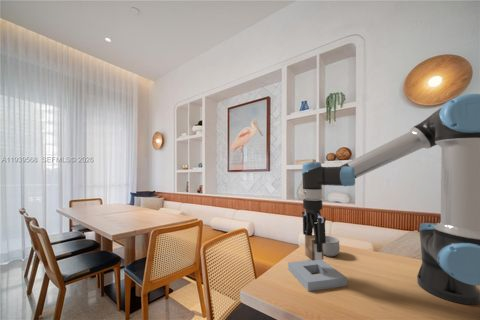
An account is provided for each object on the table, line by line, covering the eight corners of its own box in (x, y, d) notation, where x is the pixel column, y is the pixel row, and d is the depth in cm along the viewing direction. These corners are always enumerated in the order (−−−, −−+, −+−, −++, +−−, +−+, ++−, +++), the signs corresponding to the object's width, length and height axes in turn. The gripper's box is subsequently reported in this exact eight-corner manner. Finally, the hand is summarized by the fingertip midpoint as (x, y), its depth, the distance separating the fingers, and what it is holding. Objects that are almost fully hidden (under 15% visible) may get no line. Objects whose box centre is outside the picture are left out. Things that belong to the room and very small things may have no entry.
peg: (323, 259, 76) (322, 238, 77) (312, 260, 75) (311, 239, 76) (316, 254, 81) (315, 235, 82) (305, 255, 80) (304, 235, 81)
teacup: (342, 259, 93) (342, 242, 94) (319, 257, 95) (318, 241, 96) (334, 248, 107) (334, 233, 107) (314, 247, 109) (313, 232, 110)
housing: (347, 285, 71) (346, 277, 72) (308, 291, 68) (307, 282, 68) (321, 265, 87) (320, 258, 87) (288, 269, 84) (288, 262, 84)
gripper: (294, 196, 88) (295, 248, 86) (317, 202, 70) (319, 268, 69) (308, 196, 90) (310, 247, 88) (335, 202, 72) (337, 266, 70)
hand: (314, 256), depth 78 cm, fingers closed on peg, 5 cm apart
